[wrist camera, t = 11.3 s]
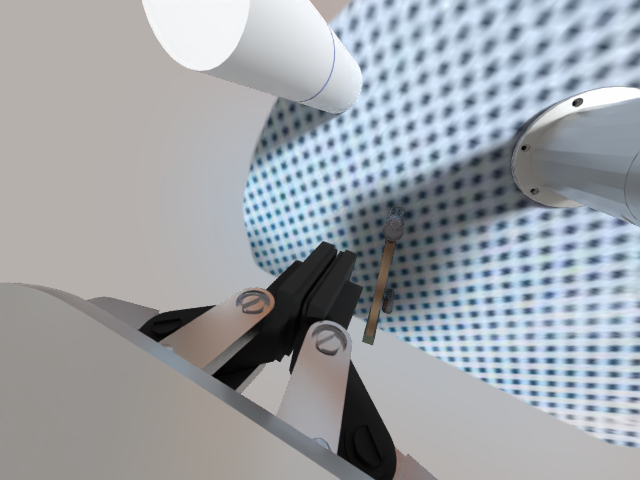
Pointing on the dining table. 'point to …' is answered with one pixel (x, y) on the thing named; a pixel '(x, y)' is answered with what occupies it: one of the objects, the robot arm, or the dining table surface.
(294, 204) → the dining table surface
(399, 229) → the hinge post
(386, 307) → the post
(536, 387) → the dining table surface
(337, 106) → the cylindrical container
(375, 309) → the wooden plank on edge
